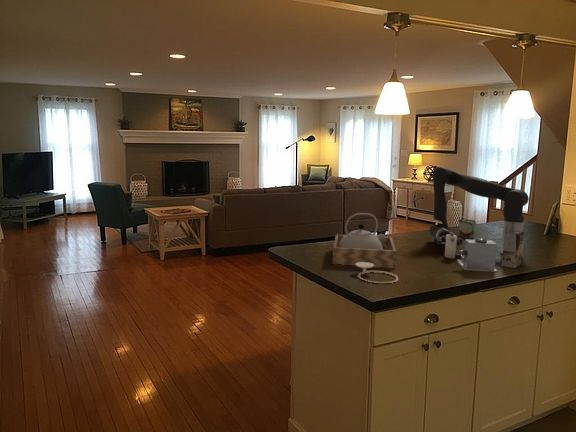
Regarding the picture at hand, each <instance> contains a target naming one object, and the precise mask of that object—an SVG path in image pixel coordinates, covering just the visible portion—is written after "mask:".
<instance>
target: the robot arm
mask: <svg viewBox="0 0 576 432" xmlns="http://www.w3.org/2000/svg"><path fill="white" fill-rule="evenodd" d="M432 184H433V195H434V200H433V201H434V203H433V204H434V205H433V207H434V208H433V219H434V220H435V221H438V222H441V223H442V224H436V223H435V224H432V225H430V227H429V230H428V231H429V235H430V236H431V237H432V242H433V244H436V243H437V244H438V245H440V246H445V244H446V235H448V234H450V232H451V231H450V229H449V225H448V219H447V217H448V216H447V214H448V203H447V198H446V193H445V190H446V189H445V188H446V187H445V186H446V185H449V186H454V187H457V188H460V189H462V190H463V191H465V192H467V193H470V194H472V195H474V196H478V197H482V198H487V199H488V198H489V199H493V200H496V199H497V200H500V201H503V209H502V210H503V211H502V214H503V224H502V225H503V227H502V236H501V246H500V253H501V254H502V255H503V246H504V236H505V232H507V231H509V230H513V231H522V232H524V223H525V216H524V215H523V207H525V206H526V205H527V204H528V203H529V200H530V198H529V195H528V193H527V192H526V191H524V190H522V189H519V188H512V187H509V186H503V185H500V184H498V183H496V182H493V181H490V180H487V179H485V178H482V177H481V178H480V177H478V176H477V177H476V176H473V175H468V174H467V175H466V174H462V173H459V172H457V171H454V170H453V169H450V168H448V167H443V166H438V167H436V168H435V169H434V170H433V172H432ZM524 239H525V238H524V236H523V240H524ZM461 245H463V238H461V236H458V237H457V240H456V246H458V247H459V246H461ZM523 246H524V244H523V245H522V249H523Z"/></svg>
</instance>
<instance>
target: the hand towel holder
mask: <svg viewBox="0 0 576 432" xmlns="http://www.w3.org/2000/svg"><path fill="white" fill-rule="evenodd" d="M355 264H356V266H355V267H357V268H360V269H362V271H361V272H359V273H357V274H358V275H357V278H358V277H359V278H360V279H362V280H365V281H368V282H374V283H392V284H394V283H393V282H396V283H397V282H398V281H399V277H398V275H396V274H395V273H392V272H389V271H384V270H367V269H371V268H374V267H373V266H374V264H372V263H369V262H358V263H355ZM370 272H374V273H373V274H382V273H385V274H384V275H387V274H389V275H388V276H391V275H392V276H391V277H393V276H394V278H395V280H391V281H373V280H369V279H366V278H363V277H361V276H362V275H366V274H365V273H367V274H371V273H370ZM361 274H362V275H361ZM359 278H358V279H359ZM360 279H359V280H360Z"/></svg>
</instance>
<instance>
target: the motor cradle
mask: <svg viewBox="0 0 576 432" xmlns="http://www.w3.org/2000/svg"><path fill="white" fill-rule="evenodd" d="M464 241H465V242H464V249H456V253H455V256H461V257H460V258H461V259H460V258H459V259H456V262H457V263H458V264H459V265H460V266H461V268H462V269H463V270H464V271H471V272H472V271H476V272H492V273H494V272H495V273H498V270H497V269H496V268H495V267H496V260H497V251H498V250H497V247H498V244H497V243H496V242H495V241H494V240H490V239H489V240H488V239H487V238H482V237H475V238H474V239H468V238H466V239H464Z"/></svg>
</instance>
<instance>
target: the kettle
mask: <svg viewBox="0 0 576 432" xmlns="http://www.w3.org/2000/svg"><path fill="white" fill-rule="evenodd" d="M361 215H363V216H365V215H366V216H371V217H372V218H373V219H374V220H375V223H376V224H375V229H374V231H373V233H372V232H371V231H369V230H364V228H365V226H364V224H363V223H360V224H358V229H356V230H352V231H350V232H348V229H347V228H348V227H347V226H348V223H349V222H350V220H351V219H352V218H355V217H356V216H361ZM344 225H345V226H344V231H345V234H344V235H345V236H344V237H343V238H342V239H341V241H340V243H339V245H338V248H356V249H376V250H383V247H382V244H381V242H380V240H381V239H382V238H383V237H386V235H385V234H383V233H379V234H378V235H376V234H377V231H378V229H379V222H378V218H377V217H376V216H375V214H372V213H368V212H357V213H355V214H352V215H350V216H349V217H348V218H347V219H346V221H345V224H344Z"/></svg>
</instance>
